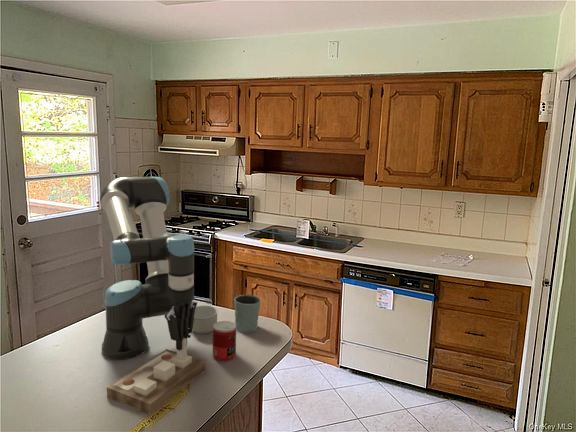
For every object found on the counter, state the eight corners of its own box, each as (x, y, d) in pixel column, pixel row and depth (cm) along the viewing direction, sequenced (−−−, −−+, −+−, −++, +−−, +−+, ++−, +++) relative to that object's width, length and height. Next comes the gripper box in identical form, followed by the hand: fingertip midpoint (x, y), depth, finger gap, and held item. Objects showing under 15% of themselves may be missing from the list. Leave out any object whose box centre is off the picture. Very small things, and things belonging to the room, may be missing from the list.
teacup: (223, 329, 166) (223, 309, 164) (203, 339, 157) (203, 319, 155) (196, 319, 173) (196, 301, 172) (176, 329, 164) (176, 309, 163)
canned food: (231, 362, 142) (232, 332, 140) (208, 359, 144) (209, 328, 141) (238, 351, 149) (239, 322, 147) (217, 348, 151) (217, 319, 149)
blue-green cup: (229, 325, 169) (229, 297, 167) (251, 320, 175) (252, 292, 172) (241, 336, 161) (242, 306, 158) (264, 330, 167) (265, 301, 164)
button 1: (133, 399, 120) (133, 385, 119) (145, 391, 124) (144, 377, 123) (145, 404, 118) (145, 389, 118) (156, 395, 122) (156, 381, 121)
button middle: (153, 380, 127) (153, 367, 126) (163, 373, 131) (163, 360, 130) (165, 384, 125) (165, 371, 124) (175, 377, 129) (175, 364, 128)
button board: (107, 396, 121) (106, 386, 121) (166, 357, 144) (166, 348, 143) (150, 414, 115) (150, 403, 114) (205, 369, 137) (205, 360, 136)
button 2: (171, 372, 134) (171, 359, 134) (180, 365, 138) (180, 353, 138) (182, 375, 133) (182, 362, 132) (191, 369, 137) (191, 356, 136)
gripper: (177, 295, 123) (177, 370, 127) (204, 282, 134) (204, 351, 139) (156, 290, 126) (158, 363, 130) (185, 278, 137) (185, 345, 142)
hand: (181, 357), depth 135 cm, fingers closed
